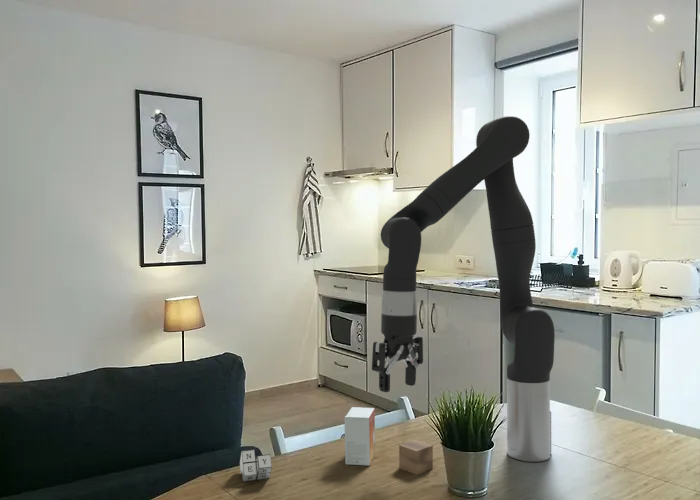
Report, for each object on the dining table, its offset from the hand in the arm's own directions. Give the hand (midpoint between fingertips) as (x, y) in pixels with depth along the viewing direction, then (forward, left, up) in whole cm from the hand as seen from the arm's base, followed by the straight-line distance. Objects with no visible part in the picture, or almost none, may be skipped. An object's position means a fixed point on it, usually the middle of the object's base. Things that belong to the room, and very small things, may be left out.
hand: (397, 388), depth 129 cm
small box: (+2, -9, -17) cm, 20 cm away
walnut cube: (-3, +3, -17) cm, 18 cm away
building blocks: (+25, -16, -17) cm, 35 cm away
